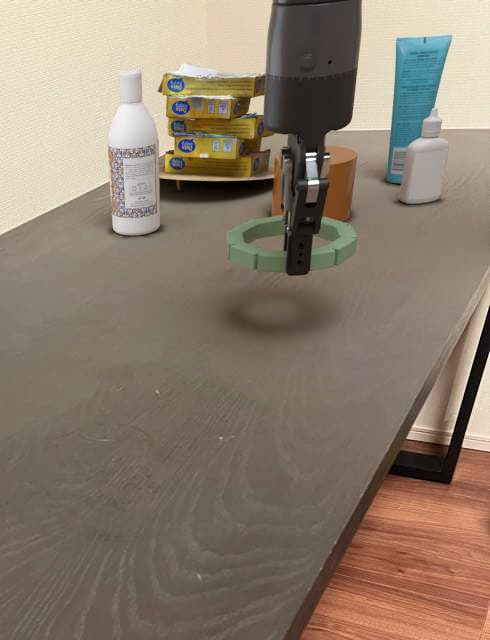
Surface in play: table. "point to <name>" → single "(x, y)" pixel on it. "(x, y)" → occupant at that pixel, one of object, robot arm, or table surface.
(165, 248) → the table surface
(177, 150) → the stacked yellow boxes
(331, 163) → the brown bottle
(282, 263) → the rubber ring
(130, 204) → the bath foam
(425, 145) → the eye dropper bottle
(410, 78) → the tube
